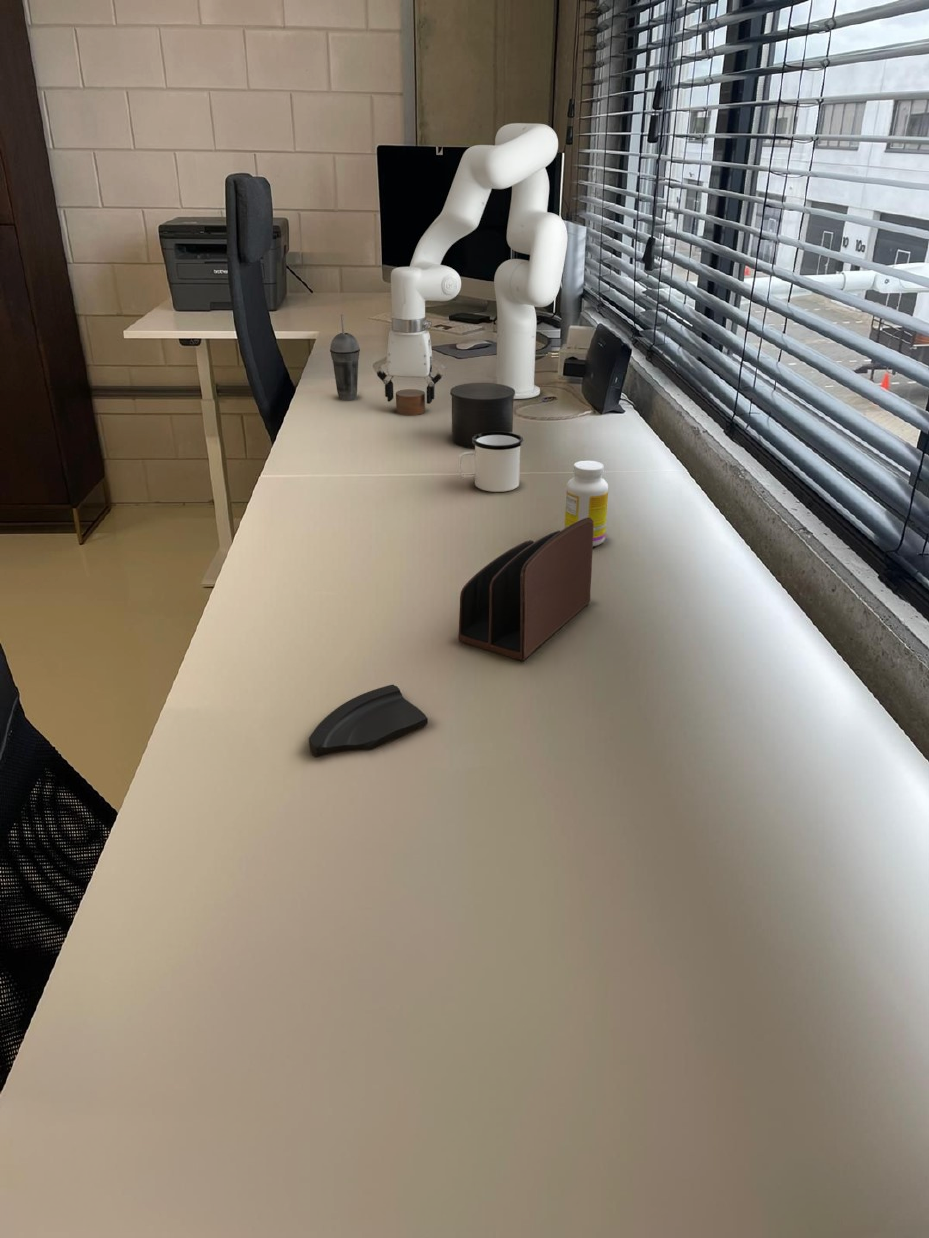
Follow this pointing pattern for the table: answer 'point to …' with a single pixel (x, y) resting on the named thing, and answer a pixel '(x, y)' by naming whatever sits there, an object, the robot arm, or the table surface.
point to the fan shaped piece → (366, 722)
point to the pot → (480, 411)
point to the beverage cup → (345, 364)
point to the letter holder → (528, 592)
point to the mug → (495, 461)
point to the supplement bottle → (588, 498)
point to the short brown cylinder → (410, 402)
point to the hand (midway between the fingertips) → (409, 401)
